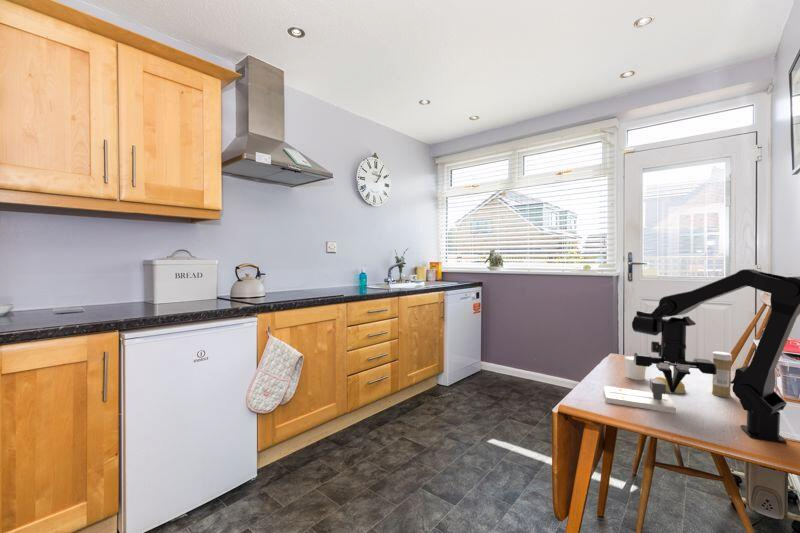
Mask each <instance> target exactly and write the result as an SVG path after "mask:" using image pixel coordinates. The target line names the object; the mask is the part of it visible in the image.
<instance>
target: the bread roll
mask: <svg viewBox="0 0 800 533" xmlns="http://www.w3.org/2000/svg"><path fill="white" fill-rule="evenodd" d="M653 379H658V380H663V381H664V383H665V384H666V392H667V394H677V395H678V394H680V395H681V394H685V393H686V391H687V390H686V387H685V384H684V383H683V382H682V380H681V381H680V383H679V385H678V386H677V388H676V390H675V392H674V393H673V392H670V390H669V387H668V384H667V381H666V378H665V377H662V376H660V377H659V376H657V377H654V378H653ZM672 379H673V377H672Z"/></svg>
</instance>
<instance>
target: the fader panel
mask: <svg viewBox="0 0 800 533" xmlns="http://www.w3.org/2000/svg"><path fill="white" fill-rule="evenodd" d="M603 393H604V398H605V403H607V404H615V405H620V406H621V405H622V406H627V407H633V408H639V409H640V408H641V409H645V410H646V409H647V410H653V411H659V412H664V413H672V414H677V407H676V406H675V404H674V402H673V401H672V399H671V398H670V396H669V395H668V393H667V394H662V399H656V398H653V392H652V391H644V390H643V391H642V390H638V389H637V390H636V389H629V388H623V387H615V386H609V385H604V386H603Z"/></svg>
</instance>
